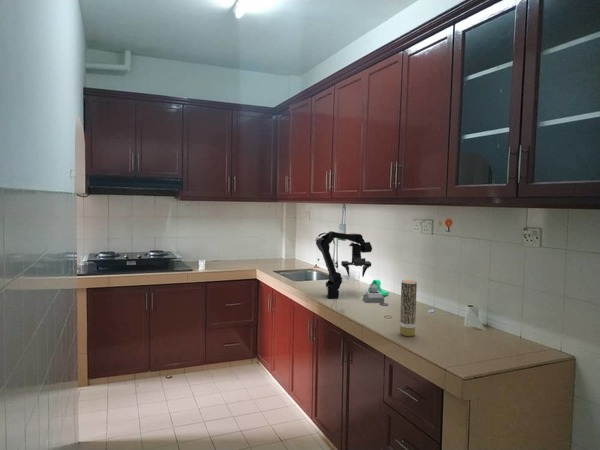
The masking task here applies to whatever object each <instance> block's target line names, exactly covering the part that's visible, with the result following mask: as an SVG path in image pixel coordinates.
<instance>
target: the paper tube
mask: <svg viewBox="0 0 600 450" xmlns="http://www.w3.org/2000/svg"><path fill="white" fill-rule="evenodd" d="M417 284H418V281H417V280H414V279H401V285H400V286H401V289H400V290H401V292H400V315H399V316H400V318H399V324H400V325H399V333H400V335H402V336H406V337H414V336H415V335H416V320H417V319H416V315H417V291H418V290H417V288H418V285H417Z"/></svg>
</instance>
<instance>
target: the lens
mask: <svg viewBox="0 0 600 450" xmlns="http://www.w3.org/2000/svg"><path fill="white" fill-rule="evenodd" d="M369 287H370V293H377V285H376V284H371V283H370V284H369Z"/></svg>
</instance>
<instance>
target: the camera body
mask: <svg viewBox="0 0 600 450" xmlns="http://www.w3.org/2000/svg"><path fill="white" fill-rule="evenodd" d="M362 299H363V301H364V302H365V303H366V304H368V303H371V304H373V303H375V304H377V303H378V304H380V303H385V297H384V296H382V293H380V292H379V291H377V293H370V291H368V290H365V293H363V295H362Z"/></svg>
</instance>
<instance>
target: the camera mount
mask: <svg viewBox="0 0 600 450" xmlns="http://www.w3.org/2000/svg"><path fill="white" fill-rule="evenodd" d="M381 283H382V282H381V280H380V279H373V280H372V282H371V283H370V284H376V285H377V291H379V292H380V293H382V296H383V297H384V296H389V294H390V292H389V291H386V290H383V289H382V287H381V285H382V284H381ZM367 291H370V286H369V287H368V289H367Z"/></svg>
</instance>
